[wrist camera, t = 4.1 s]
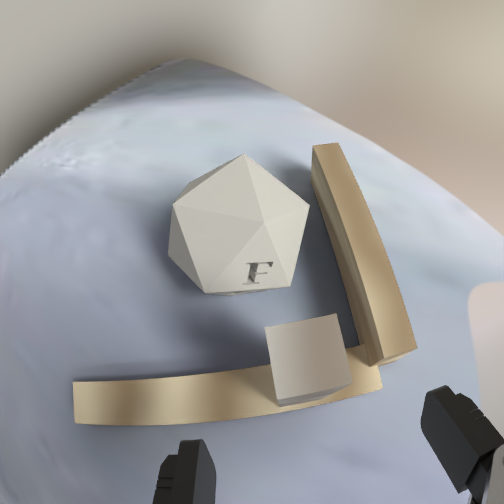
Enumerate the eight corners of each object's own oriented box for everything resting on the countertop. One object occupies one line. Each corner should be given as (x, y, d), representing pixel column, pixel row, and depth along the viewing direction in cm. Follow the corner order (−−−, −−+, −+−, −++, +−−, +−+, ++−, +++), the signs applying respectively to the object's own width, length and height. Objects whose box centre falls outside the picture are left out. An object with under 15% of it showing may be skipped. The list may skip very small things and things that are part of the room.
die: (167, 295, 23) (183, 319, 14) (163, 180, 23) (178, 133, 14) (270, 288, 26) (338, 302, 17) (265, 182, 26) (328, 146, 17)
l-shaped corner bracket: (82, 423, 18) (-25, 406, 9) (91, 224, 26) (32, 146, 17) (399, 383, 17) (485, 346, 9) (333, 177, 26) (345, 75, 17)
